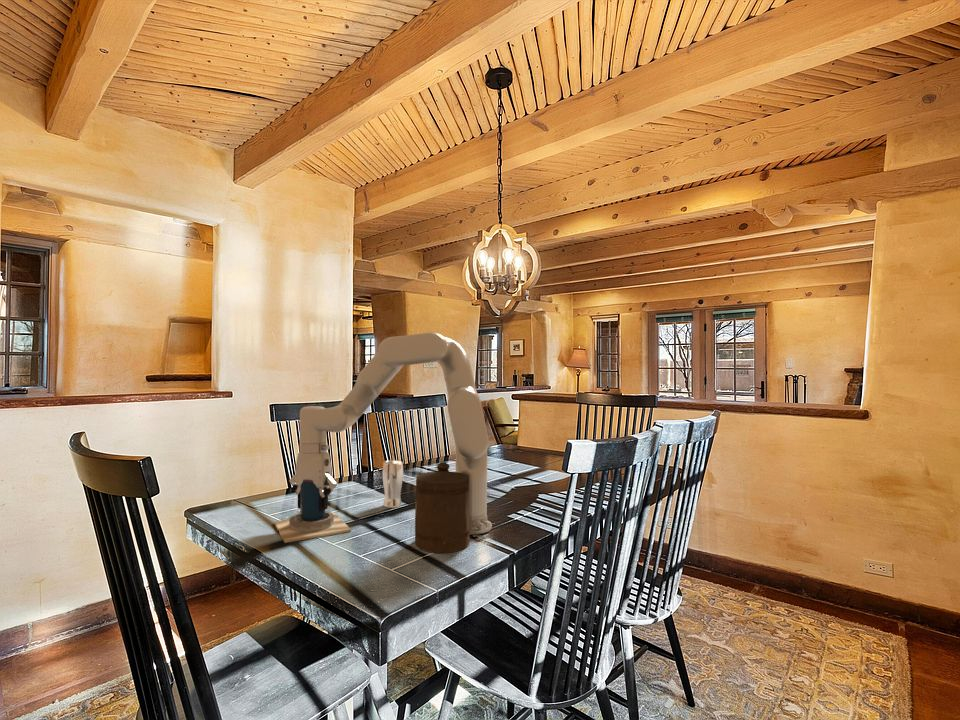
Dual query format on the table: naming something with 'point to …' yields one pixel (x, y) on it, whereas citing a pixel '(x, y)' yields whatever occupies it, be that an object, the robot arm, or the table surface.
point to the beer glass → (392, 482)
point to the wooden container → (442, 511)
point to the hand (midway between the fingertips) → (312, 508)
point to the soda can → (310, 502)
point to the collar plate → (309, 535)
